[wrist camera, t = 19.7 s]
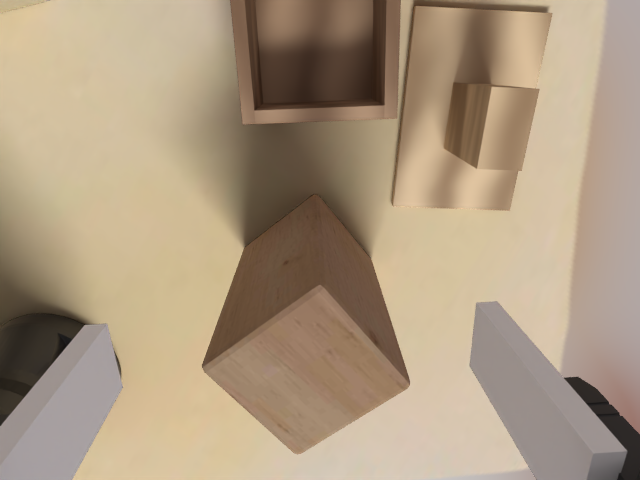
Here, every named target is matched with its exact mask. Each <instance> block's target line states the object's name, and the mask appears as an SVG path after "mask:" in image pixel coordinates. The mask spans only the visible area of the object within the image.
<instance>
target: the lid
mask: <svg viewBox="0 0 640 480" xmlns="http://www.w3.org/2000/svg"><path fill="white" fill-rule="evenodd" d="M551 17H552V13H539V12H521V11H502V10H484V9H465V8H446V7H428V6H414V7H413V15H412V25H411V34H410V43H409V52H408V61H407V70H406V79H405V88H404V97H403V106H402V115H401V124H400V133H399V143H398V152H397V161H396V170H395V179H394V188H393V197H392V205H393V206H396V207H423V208H451V209H479V210H507V211H510V207H511V202H512V197H513V193H514V188H515V184H516V179H517V174H518V171H522V166H523V162H524V157H525V153H526V148H527V143H528V139H529V134H530V130H531V125H532V121H533V116H534V112H535V107H536V102H537V98H538V93H539V89H536V87H537V82H538V77H539V73H540V68H541V64H542V59H543V54H544V50H545V45H546V40H547V36H548V31H549V27H550V22H551Z"/></svg>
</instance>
